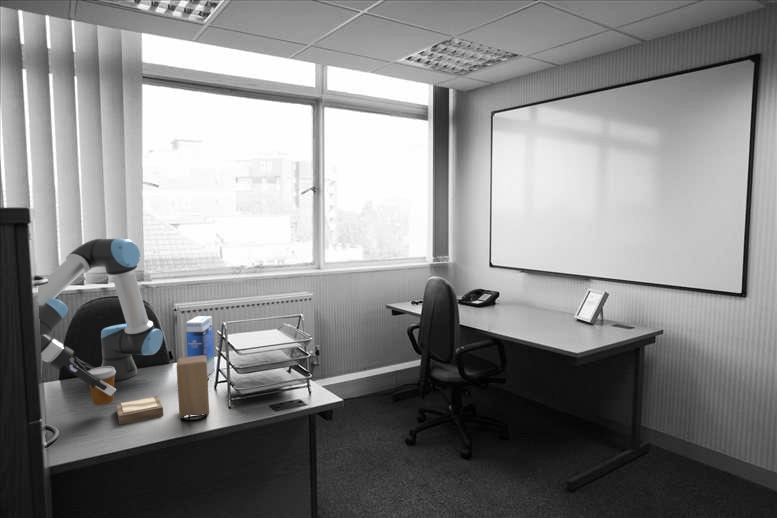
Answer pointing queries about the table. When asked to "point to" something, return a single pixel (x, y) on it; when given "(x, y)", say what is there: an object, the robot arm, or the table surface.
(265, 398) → the table surface
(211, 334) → the string lights box
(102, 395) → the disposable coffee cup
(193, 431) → the table surface
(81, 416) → the table surface
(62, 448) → the table surface
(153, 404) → the walnut base
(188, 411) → the block
